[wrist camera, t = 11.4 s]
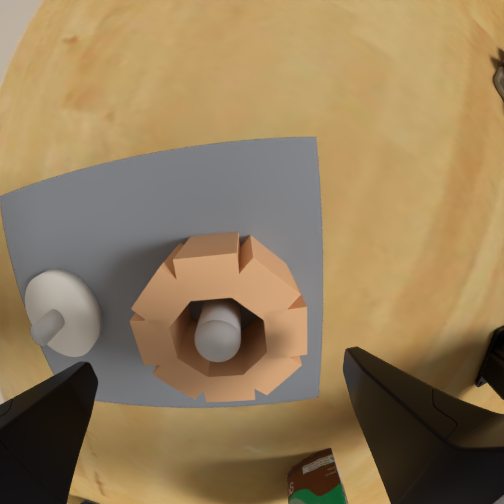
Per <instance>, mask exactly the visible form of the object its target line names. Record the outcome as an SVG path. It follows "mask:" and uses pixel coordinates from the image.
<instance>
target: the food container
mask: <svg viewBox="0 0 504 504" xmlns="http://www.w3.org/2000/svg"><path fill="white" fill-rule="evenodd" d="M287 481H288V504H348V501H347V497H346V494H345V490H344V487H343V483H342V480H341V477H340V474H339V471H338V468H337V465H336V462H335V459H334V456H333V453H332V450H331V448H330V449H327V450H324V451H321V452H318V453H316V454H314V455H312V456H310V457H308V458H306V459H304V460H302V461H301V462H299V463H298V464H297V465H295V466H294V467H293V468H292V469H291V470H290V472H289V473H288V477H287Z"/></svg>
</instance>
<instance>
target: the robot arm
mask: <svg viewBox="0 0 504 504" xmlns="http://www.w3.org/2000/svg"><path fill="white" fill-rule="evenodd" d="M343 373H344V377H345V380H346V384H347V387H348V391H349V395H350V398H351V402H352V405H353V409H354V412H355V414H356V417H357V419H358V421H359V424H360V426H361V429H362V431H363V434H364V436H365V438H366V441H367V443H368V446H369V448H370V451H371V453H372V456H373V458H374V461H375V463H376V466H377V468H378V471H379V474H380V476H381V479H382V481H383V484H384V486H385V489H386V492H387V494H388V497H389V500H390V502H391V504H504V414H499V413H495V412H492V411H489V410H487V409H484V408H481V407H478V406H475V405H473V404H470V403H467V402H465V401H462V400H460V399H457V398H455V397H453V396H451V395H448V394H446V393H444V392H442V391H440V390H438V389H436V388H433V387H432V386H430V385H428V384H426V383H425V382H423V381H421V380H419V379H417V378H415V377H413V376H411V375H409V374H407V373H406V372H404V371H402V370H400V369H398V368H396V367H394V366H392V365H391V364H389V363H387V362H385V361H383V360H381V359H380V358H378V357H376V356H374V355H372V354H370V353H369V352H367V351H365V350H363V349H361V348H359V347H351V348H347V349H346V350H345V354H344V364H343ZM485 383H488V384H489V385H490V386H491V387H492V388H493V390H494V391H495V392H496V393H497V394H498V395H499V396H500V397H501V398H502V399H503V400H504V327H502V328H500V329H498V330H497V331H496V332H495V334H494V336H493V339H492V342H491V345H490V348H489V351H488V353H487V356H486V359H485V361H484V364H483V366H482V369H481V371H480V373H479V376H478V378H477V380H476V383H475V385H476V386H477V387H480V386H482V385H484V384H485ZM97 388H98V378H97V376H96V374H95V372H94V370H93V367H92V365H91V364H90V363H89V362H85V361H79V362H77V363H76V364H74V365H72V366H70V367H68V368H67V369H65V370H63V371H61V372H59V373H58V374H56V375H54V376H52V377H50V378H49V379H47V380H45V381H43V382H41V383H39V384H38V385H36V386H34V387H32V388H30V389H29V390H27V391H25V392H23V393H21V394H19V395H18V396H16V397H14V399H13V398H12V399H10V400H8V401H7V402H5V403H3V404H1V405H0V504H67V499H68V495H69V491H70V486H71V482H72V478H73V475H74V471H75V467H76V463H77V460H78V456H79V453H80V449H81V446H82V443H83V440H84V436H85V433H86V430H87V427H88V424H89V421H90V417H91V414H92V409H93V405H94V400H95V396H96V392H97Z"/></svg>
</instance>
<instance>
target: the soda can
mask: <svg viewBox="0 0 504 504" xmlns="http://www.w3.org/2000/svg"><path fill="white" fill-rule="evenodd" d="M81 504H98V503H96V502H93V501H89V500H86V501H84V502H82V503H81Z"/></svg>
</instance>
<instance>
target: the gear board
mask: <svg viewBox="0 0 504 504" xmlns="http://www.w3.org/2000/svg"><path fill="white" fill-rule="evenodd" d="M0 205H1V212H2V219H3V225H4V230H5V235H6V240H7V245H8V250H9V254H10V258H11V262H12V266H13V270H14V274H15V277H16V281H17V284H18V287H19V291H20V294H21V297H22V300H23V303H24V306H25V309H26V311H27V315H28V318H29V320H30V323H31V325H32V327H31V328H30V334H31V337H32V338H33V340H34V341H35V342H36V343H37V344H38V345H40V346H41V349H42V351H43V353H44V355H45V357H46V359H47V361H48V363H49V366H50V368H51V370H52V372H53V373H54V375H56V374H58V373H59V372H61V371H63V370H65V369H67V368H68V367H70V366H72V365H74V364H76V363H77V362H79V361H85V362H89V363H90V364H91V365H92V367H93V370H94V372H95V374H96V376H97V378H98V388H97V392H96V396H95V401H102V402H109V403H118V404H127V405H139V406H153V407H177V408H213V407H237V406H252V405H264V404H274V403H282V402H290V401H298V400H305V399H311V398H317V397H319V384H320V368H321V349H322V322H323V239H322V211H321V192H320V176H319V162H318V150H317V139H316V137H287V138H269V139H255V140H243V141H233V142H223V143H215V144H207V145H199V146H192V147H185V148H179V149H172V150H166V151H161V152H155V153H150V154H144V155H139V156H135V157H130V158H125V159H121V160H116V161H112V162H107V163H103V164H99V165H95V166H91V167H88V168H84V169H80V170H76V171H73V172H69V173H66V174H63V175H59V176H56V177H53V178H50V179H46V180H43V181H40V182H37V183H34V184H31V185H29V186H26V187H23V188H20V189H17V190H15V191H12V192H9V193H7V194H4V195H2V196H0ZM237 231H238V233H239V242H240V247H241V246H242V244H243V243H244V242H245V241H246V240H247V238H248V237H249V236H250V235H251V236H252V237H254V238H255V239H256V240H257V241H259V242H260V243H261V244H262V245H264V246H265V247H266V248H267V249H269V250H270V251H271V252H272V253H274V254H275V255H276V256H277V257H279V258H280V259H281V260H282V261H284V262H285V263H286V264H287V266H288V268H289V270H290V272H291V274H292V275H293V278H294V280H295V282H296V284H297V286H298V288H299V290H300V293H301V295H302V297H303V299H304V301H305V304H306V306H307V355H300V360H301V363H302V366H300V367H299V368H298V369H297V370H296V371H295V372H294V373H293V374H291V375H290V376H289V377H288V378H287V379H286V380H285V381H283V382H282V383H281V384H280V385H279V386H277V387H276V388H275V389H274V390H273V391H271V392H270V393H269V394H268V395H265V394H263V393H262V392H260V391H258V390H256V389H255V400H245V401H230V402H206V399H205V395H204V392H202V393H201V394H200V395H199V396H198V397H196V398H195V399H193V398H191V397H189V396H187V395H185V394H184V393H182V392H180V391H178V390H177V389H175V388H173V387H172V386H170V385H168V384H167V383H165V382H163V381H162V380H160V379H159V378H157V377H155V376H154V375H152V374H153V372H154V369H155V367H156V365H144V363H143V360H142V357H141V354H140V352H139V349H138V346H137V343H136V340H135V337H134V334H133V330H132V327H131V324H130V320H131V318H132V317H133V315H134V314H135V313H136V312H134V311H133V310H132V309H131V308H132V307H133V305H134V304H135V302H136V301H137V299H138V298H139V296H140V295H141V293H142V292H143V290H144V289H145V287H146V286H147V284H148V283H149V282H150V280H151V279H152V277H153V276H154V274H155V273H156V272H157V270H158V269H159V267H160V266H161V265H162V264H163V262H164V261H165V260H166V259H167V258H168V256H169V255H170V254H171V253H172V252H173V250H174V249H175V248H176V247H177V246H178V245H179V243H182V244H183V245H184V244H185V243H186V242H187V241H188V239H189V238H190V237H191V236H200V235H209V234H218V233H228V232H237ZM188 306H189V311H190V316H191V318H192V319H194V320H195V321H196V322H198V325H197V328H196V332H195V339H194V340H195V346H196V349H197V350H198V352H199V353H200V354H201V356H202V357H204V358H205V359H207V360H209V361H212V362H224V361H227V360H229V359H231V358H232V357H233V356H234V355H235V354H236V353H237V351H238V349H239V347H240V343H241V331H244V330H245V329H246V328H247V326H248V325H249V324H250V323H251V322H252V321H253V320H254V319H255V318H256V317H257V315H256V314H254V313H253V312H251V311H250V310H248V309H247V308H246V307H244V306H243V305H241V304H240V303H239V302H237V301H236V300H234V299H233V298H222V299H210V300H198V301H190V302H189V304H188Z"/></svg>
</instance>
